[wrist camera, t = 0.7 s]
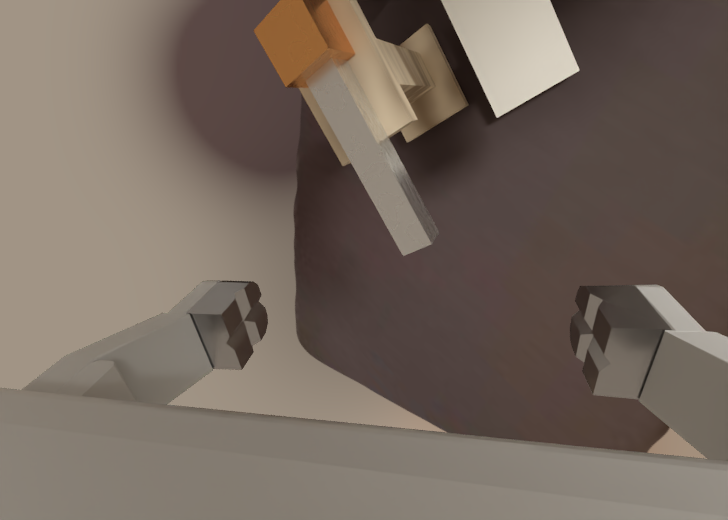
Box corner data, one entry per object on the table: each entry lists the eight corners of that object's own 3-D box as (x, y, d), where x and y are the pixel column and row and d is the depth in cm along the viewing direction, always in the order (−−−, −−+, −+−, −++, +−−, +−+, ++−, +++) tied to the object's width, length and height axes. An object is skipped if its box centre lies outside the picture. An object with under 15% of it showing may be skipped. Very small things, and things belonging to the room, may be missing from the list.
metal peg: (326, -2, 30) (294, -16, 26) (447, 229, 33) (435, 247, 29) (288, 38, 32) (253, 30, 28) (404, 247, 36) (388, 267, 32)
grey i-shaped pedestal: (529, -38, 43) (527, -91, 31) (576, 71, 45) (591, 63, 33) (454, 20, 48) (426, -4, 36) (499, 115, 51) (487, 123, 38)
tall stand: (430, 25, 50) (350, -26, 28) (468, 105, 52) (421, 114, 30) (374, 70, 55) (270, 57, 33) (410, 141, 57) (335, 171, 35)
